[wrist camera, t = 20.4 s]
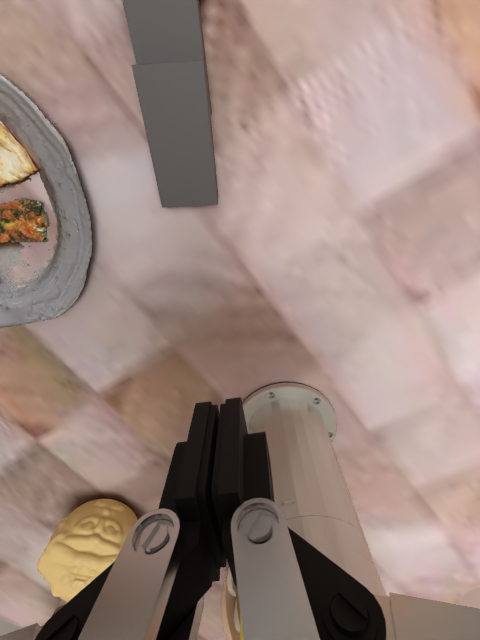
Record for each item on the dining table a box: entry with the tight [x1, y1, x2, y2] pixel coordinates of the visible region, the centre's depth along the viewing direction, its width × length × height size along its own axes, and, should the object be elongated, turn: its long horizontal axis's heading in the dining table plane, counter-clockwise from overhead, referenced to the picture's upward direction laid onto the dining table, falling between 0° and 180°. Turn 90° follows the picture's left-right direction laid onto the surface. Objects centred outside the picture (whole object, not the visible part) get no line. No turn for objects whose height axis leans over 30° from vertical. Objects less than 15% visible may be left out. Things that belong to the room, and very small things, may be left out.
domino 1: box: [123, 0, 212, 116], centre depth 23 cm, size 2×5×10 cm
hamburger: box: [221, 567, 243, 640], centre depth 46 cm, size 12×8×12 cm
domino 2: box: [132, 60, 218, 207], centre depth 26 cm, size 2×5×10 cm
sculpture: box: [37, 499, 138, 602], centre depth 42 cm, size 11×12×11 cm
